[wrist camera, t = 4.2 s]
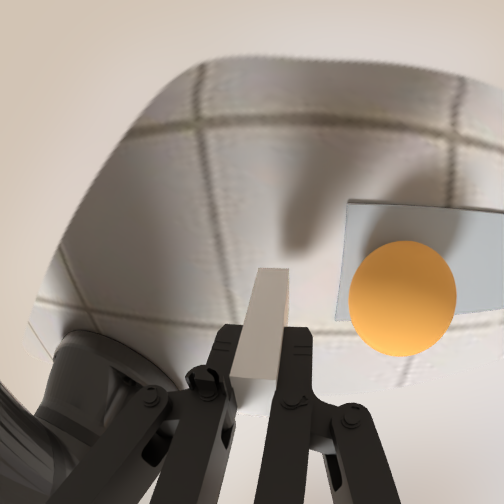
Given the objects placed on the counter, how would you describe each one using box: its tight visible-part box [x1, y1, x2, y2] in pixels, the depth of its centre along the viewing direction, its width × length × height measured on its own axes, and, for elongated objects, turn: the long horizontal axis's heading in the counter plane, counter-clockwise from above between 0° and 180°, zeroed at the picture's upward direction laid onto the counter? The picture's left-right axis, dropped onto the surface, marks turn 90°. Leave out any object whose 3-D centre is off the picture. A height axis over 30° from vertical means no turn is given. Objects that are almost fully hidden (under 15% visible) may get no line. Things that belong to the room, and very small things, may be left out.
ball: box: [348, 241, 457, 356], centre depth 13 cm, size 6×6×6 cm
